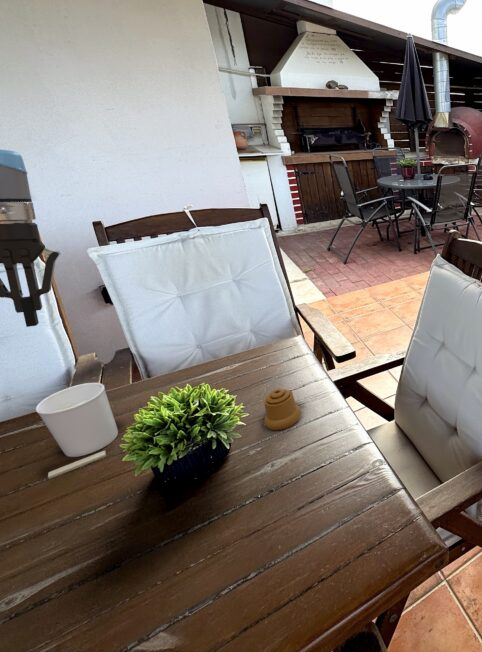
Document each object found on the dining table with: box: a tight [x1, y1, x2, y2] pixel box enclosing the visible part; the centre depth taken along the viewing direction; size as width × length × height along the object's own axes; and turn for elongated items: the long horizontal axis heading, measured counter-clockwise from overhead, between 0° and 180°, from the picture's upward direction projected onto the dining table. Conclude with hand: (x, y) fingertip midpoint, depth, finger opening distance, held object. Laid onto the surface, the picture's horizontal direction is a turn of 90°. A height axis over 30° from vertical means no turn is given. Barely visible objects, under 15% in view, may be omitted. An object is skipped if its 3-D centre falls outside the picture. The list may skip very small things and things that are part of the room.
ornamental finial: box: [263, 388, 302, 431], centre depth 91 cm, size 8×8×8 cm
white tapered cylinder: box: [35, 382, 119, 458], centre depth 84 cm, size 10×10×12 cm
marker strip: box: [47, 450, 107, 480], centre depth 80 cm, size 8×2×1 cm, turn 135°
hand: (32, 324), depth 92 cm, fingers closed
